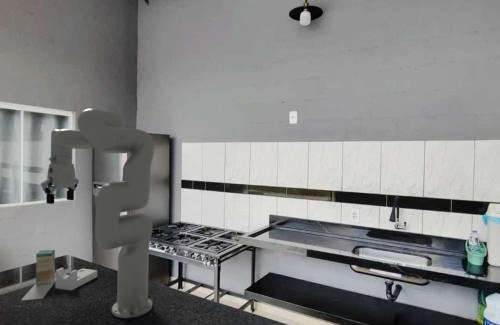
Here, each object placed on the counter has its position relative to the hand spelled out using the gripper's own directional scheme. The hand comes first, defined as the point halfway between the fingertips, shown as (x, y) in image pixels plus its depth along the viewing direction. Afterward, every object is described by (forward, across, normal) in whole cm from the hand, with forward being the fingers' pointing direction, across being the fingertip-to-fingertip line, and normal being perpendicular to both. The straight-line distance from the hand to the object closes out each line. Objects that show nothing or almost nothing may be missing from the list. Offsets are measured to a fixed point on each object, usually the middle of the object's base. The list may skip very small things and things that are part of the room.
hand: (60, 201), depth 125 cm
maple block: (+30, -9, -2) cm, 31 cm away
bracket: (+31, -5, -14) cm, 34 cm away
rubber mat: (+30, -12, -5) cm, 33 cm away
